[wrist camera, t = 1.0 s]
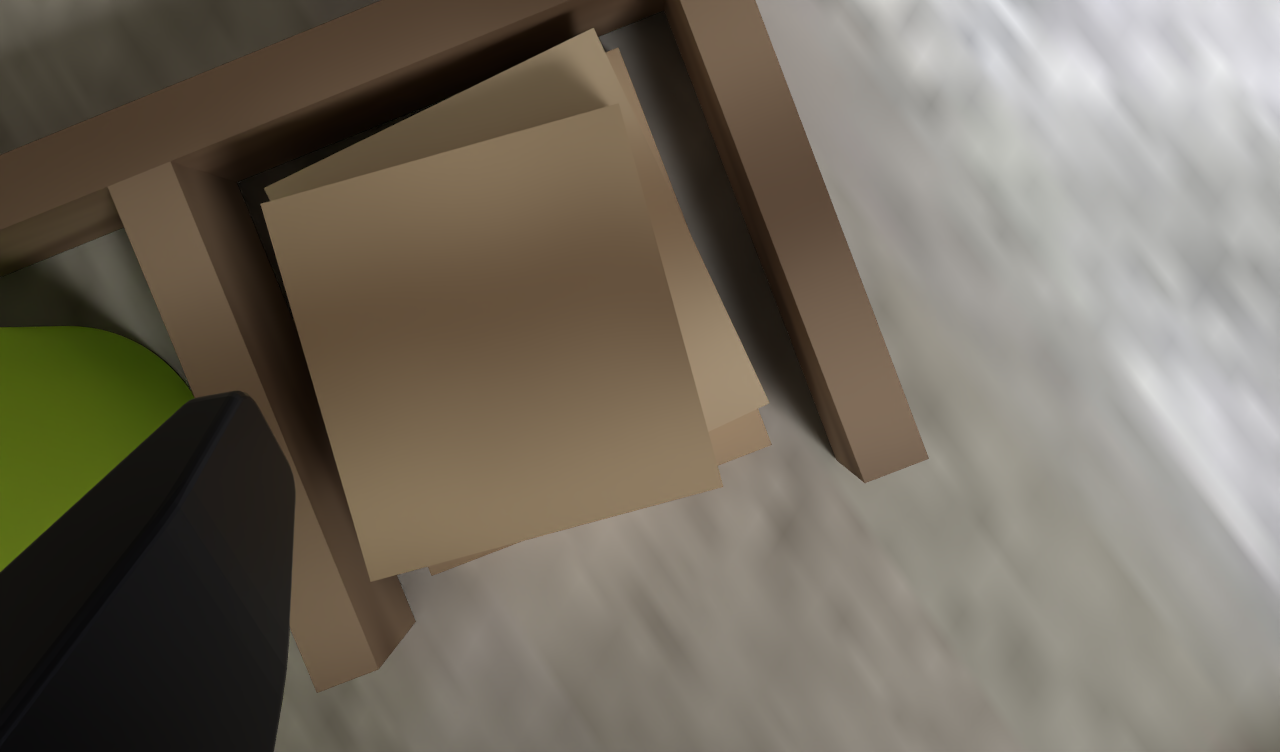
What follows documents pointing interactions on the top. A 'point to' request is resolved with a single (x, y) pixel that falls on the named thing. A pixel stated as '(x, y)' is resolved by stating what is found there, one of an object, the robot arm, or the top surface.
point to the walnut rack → (364, 98)
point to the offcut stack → (510, 317)
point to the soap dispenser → (71, 419)
